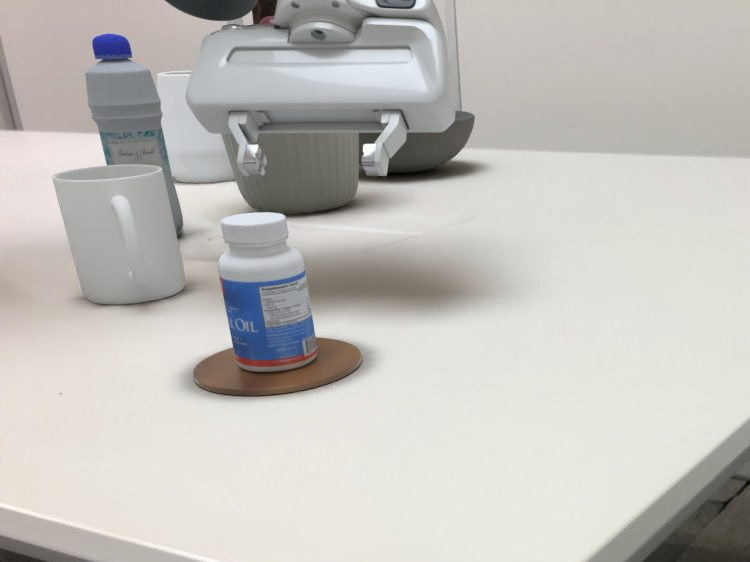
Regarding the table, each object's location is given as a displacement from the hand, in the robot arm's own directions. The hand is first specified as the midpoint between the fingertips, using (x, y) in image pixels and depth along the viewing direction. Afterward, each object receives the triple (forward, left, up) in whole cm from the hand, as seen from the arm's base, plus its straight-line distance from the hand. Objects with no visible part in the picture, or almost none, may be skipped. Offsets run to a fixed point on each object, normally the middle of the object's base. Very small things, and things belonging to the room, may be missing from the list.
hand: (311, 171), depth 76 cm
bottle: (-21, +35, -11) cm, 42 cm away
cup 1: (-17, +10, -11) cm, 23 cm away
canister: (-7, +49, -11) cm, 51 cm away
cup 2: (-22, +76, -11) cm, 80 cm away
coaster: (-3, -12, -11) cm, 17 cm away
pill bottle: (-3, -12, -11) cm, 16 cm away
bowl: (+5, +73, -11) cm, 74 cm away
